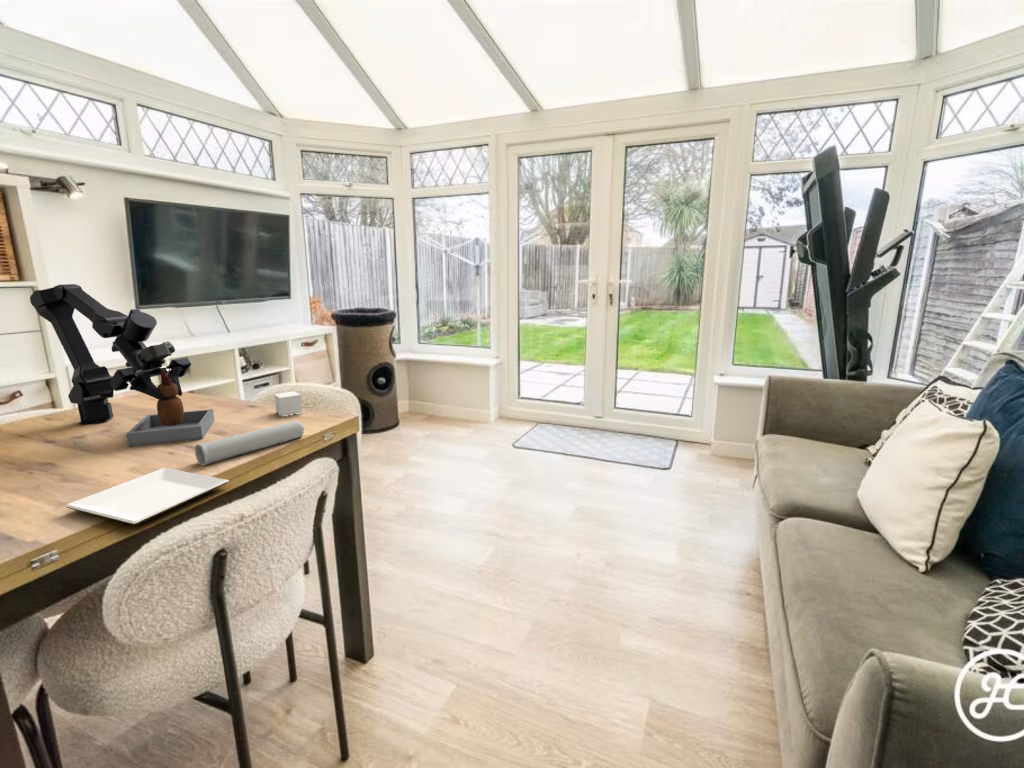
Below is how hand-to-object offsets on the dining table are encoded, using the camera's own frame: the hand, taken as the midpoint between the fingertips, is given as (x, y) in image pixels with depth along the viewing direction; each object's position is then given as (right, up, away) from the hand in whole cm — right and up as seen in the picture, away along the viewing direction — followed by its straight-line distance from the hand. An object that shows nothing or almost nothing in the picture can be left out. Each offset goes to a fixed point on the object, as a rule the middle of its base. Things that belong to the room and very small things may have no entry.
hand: (172, 397), depth 132 cm
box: (-1, -10, +3) cm, 10 cm away
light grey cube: (+22, -6, +21) cm, 31 cm away
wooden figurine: (-1, -7, +2) cm, 8 cm away
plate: (+21, -19, -36) cm, 46 cm away
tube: (+27, -13, -9) cm, 31 cm away
